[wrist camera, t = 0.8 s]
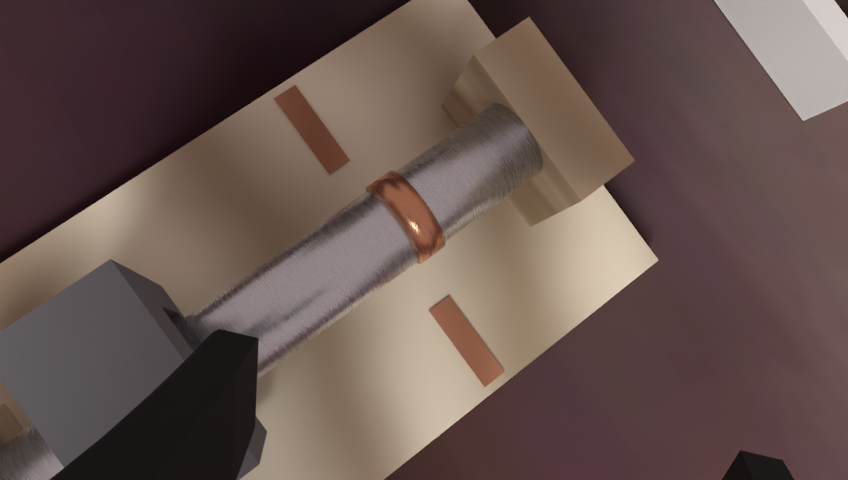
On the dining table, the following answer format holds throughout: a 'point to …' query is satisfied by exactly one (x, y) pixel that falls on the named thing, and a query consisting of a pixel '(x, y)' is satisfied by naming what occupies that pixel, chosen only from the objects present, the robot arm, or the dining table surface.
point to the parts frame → (797, 48)
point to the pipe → (348, 253)
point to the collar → (96, 359)
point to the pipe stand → (340, 185)
